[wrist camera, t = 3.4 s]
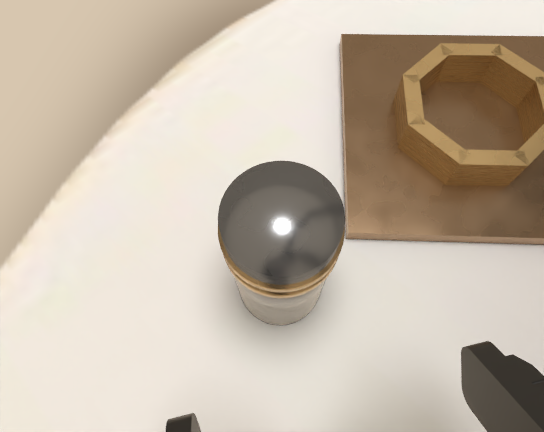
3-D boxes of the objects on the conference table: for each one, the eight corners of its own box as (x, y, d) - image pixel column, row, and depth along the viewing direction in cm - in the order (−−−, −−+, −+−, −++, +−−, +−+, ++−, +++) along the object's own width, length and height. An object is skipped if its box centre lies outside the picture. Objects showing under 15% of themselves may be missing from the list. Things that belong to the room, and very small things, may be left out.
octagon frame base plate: (552, 47, 32) (582, 7, 29) (612, 246, 26) (658, 224, 23) (339, 44, 33) (345, 5, 30) (346, 238, 26) (354, 215, 23)
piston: (322, 244, 26) (346, 159, 17) (323, 329, 24) (351, 283, 15) (239, 242, 26) (219, 156, 17) (234, 326, 24) (208, 278, 15)
